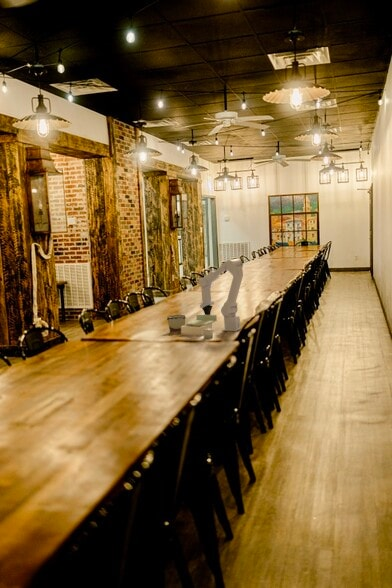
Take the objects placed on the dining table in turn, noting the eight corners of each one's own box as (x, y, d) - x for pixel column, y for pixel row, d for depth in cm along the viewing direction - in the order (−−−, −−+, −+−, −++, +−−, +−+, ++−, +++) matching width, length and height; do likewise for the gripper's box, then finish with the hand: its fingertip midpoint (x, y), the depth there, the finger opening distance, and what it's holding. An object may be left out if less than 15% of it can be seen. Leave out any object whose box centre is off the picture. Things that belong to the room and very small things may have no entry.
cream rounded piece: (214, 337, 325) (213, 328, 325) (210, 338, 321) (209, 330, 320) (206, 336, 328) (206, 328, 327) (202, 338, 324) (201, 330, 323)
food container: (188, 329, 352) (187, 314, 351) (187, 331, 346) (186, 316, 345) (169, 330, 354) (167, 315, 352) (167, 332, 348) (166, 317, 346)
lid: (216, 320, 348) (216, 314, 348) (206, 325, 336) (205, 319, 336) (197, 320, 355) (197, 314, 355) (186, 324, 343) (185, 318, 343)
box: (212, 330, 343) (211, 322, 343) (201, 335, 331) (200, 327, 331) (192, 330, 350) (192, 322, 350) (181, 334, 338) (180, 326, 338)
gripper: (206, 294, 359) (207, 315, 361) (195, 297, 347) (196, 319, 348) (215, 294, 355) (217, 315, 357) (204, 298, 343) (206, 319, 345)
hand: (207, 317), depth 353 cm, fingers closed
